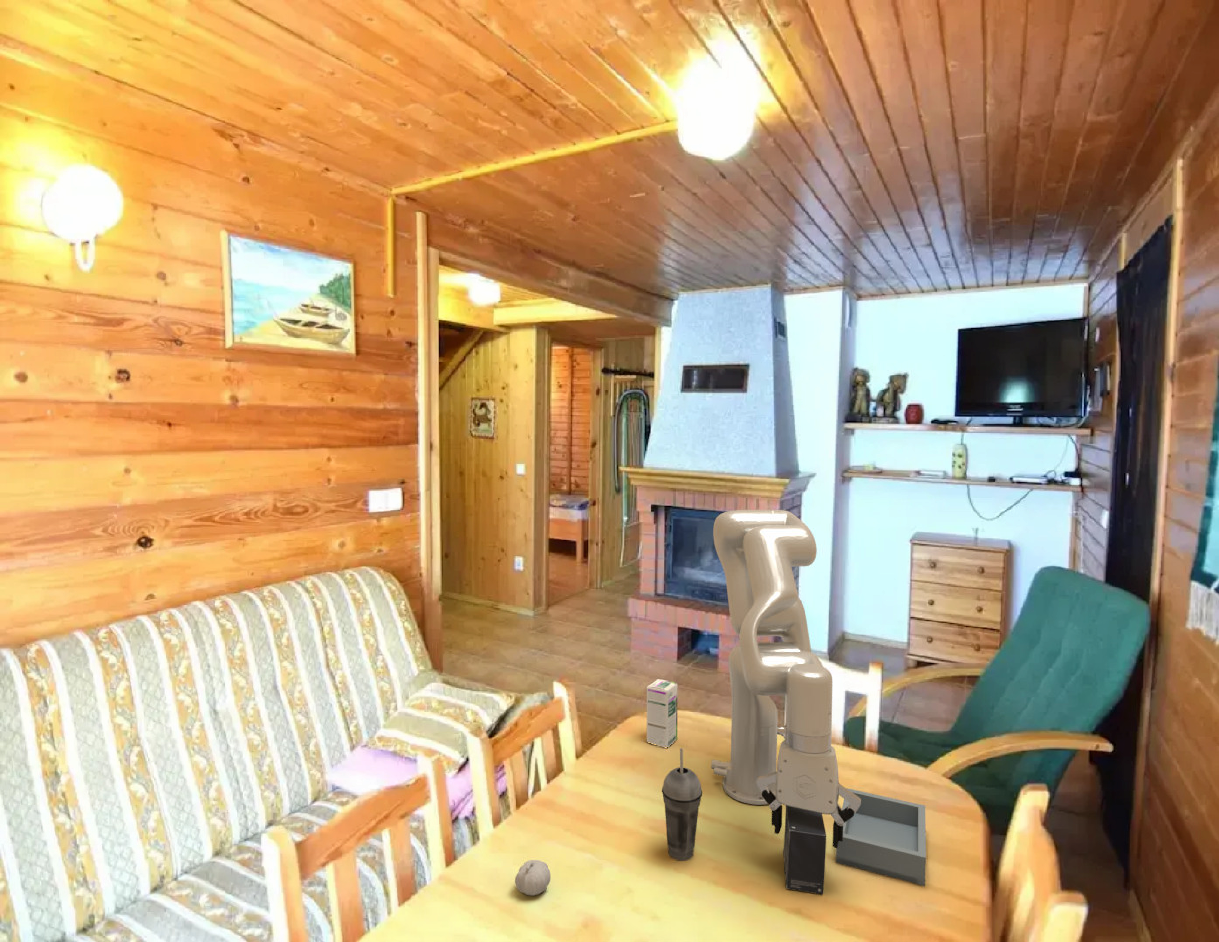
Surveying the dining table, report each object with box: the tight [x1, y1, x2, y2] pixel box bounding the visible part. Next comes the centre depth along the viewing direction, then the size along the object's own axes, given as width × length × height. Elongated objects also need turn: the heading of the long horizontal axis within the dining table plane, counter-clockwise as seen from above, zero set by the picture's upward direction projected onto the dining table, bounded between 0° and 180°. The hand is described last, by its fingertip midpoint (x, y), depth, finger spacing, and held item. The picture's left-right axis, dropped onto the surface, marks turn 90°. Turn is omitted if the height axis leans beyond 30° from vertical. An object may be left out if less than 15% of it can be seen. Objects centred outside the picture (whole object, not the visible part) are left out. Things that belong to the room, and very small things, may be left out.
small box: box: [782, 805, 827, 895], centre depth 117 cm, size 11×6×10 cm, turn 168°
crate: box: [835, 787, 927, 887], centre depth 125 cm, size 14×17×5 cm
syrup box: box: [646, 678, 678, 748], centre depth 165 cm, size 6×6×14 cm
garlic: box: [514, 859, 551, 896], centre depth 112 cm, size 6×5×5 cm
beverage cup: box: [661, 747, 703, 862], centre depth 122 cm, size 7×7×20 cm
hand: (806, 836), depth 116 cm, fingers open, 9 cm apart
